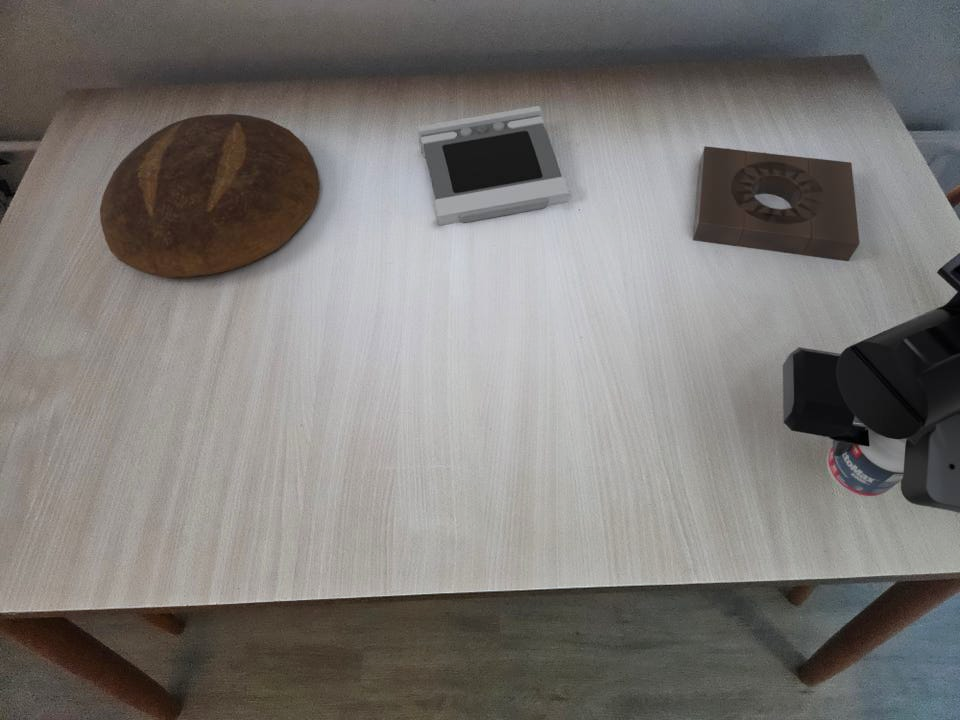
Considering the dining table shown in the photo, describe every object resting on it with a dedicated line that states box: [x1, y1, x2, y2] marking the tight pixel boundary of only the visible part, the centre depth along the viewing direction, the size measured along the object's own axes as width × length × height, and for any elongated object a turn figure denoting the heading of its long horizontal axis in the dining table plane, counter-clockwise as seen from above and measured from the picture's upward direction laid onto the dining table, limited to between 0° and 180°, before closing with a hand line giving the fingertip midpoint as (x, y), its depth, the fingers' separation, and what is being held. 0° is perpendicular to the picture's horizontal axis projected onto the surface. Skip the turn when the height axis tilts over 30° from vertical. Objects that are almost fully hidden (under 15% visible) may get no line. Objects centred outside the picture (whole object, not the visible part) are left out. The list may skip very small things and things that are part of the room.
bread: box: [99, 113, 321, 278], centre depth 83 cm, size 28×27×9 cm
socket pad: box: [692, 145, 860, 262], centre depth 80 cm, size 18×14×3 cm
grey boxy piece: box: [417, 105, 571, 226], centre depth 86 cm, size 17×5×16 cm
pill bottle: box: [826, 428, 907, 498], centre depth 51 cm, size 5×5×9 cm
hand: (871, 457), depth 53 cm, fingers closed on pill bottle, 5 cm apart
